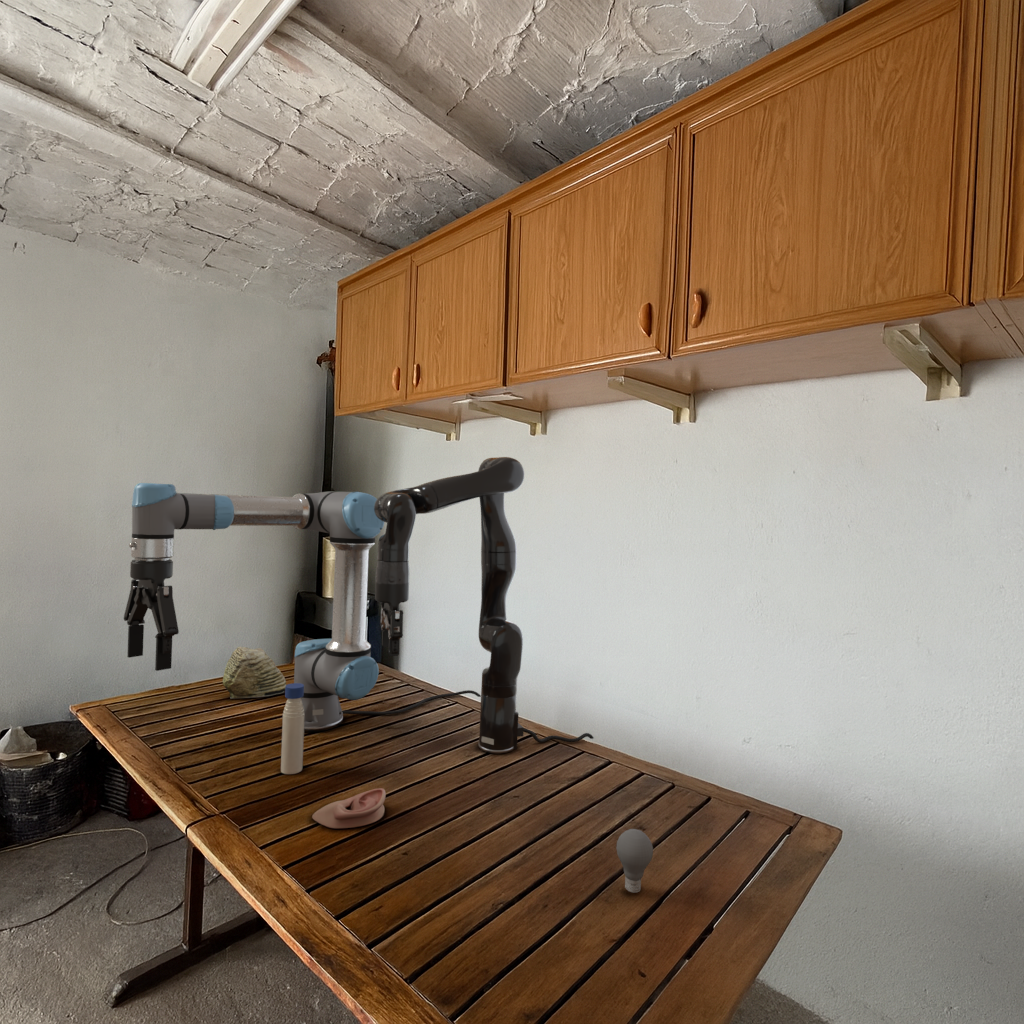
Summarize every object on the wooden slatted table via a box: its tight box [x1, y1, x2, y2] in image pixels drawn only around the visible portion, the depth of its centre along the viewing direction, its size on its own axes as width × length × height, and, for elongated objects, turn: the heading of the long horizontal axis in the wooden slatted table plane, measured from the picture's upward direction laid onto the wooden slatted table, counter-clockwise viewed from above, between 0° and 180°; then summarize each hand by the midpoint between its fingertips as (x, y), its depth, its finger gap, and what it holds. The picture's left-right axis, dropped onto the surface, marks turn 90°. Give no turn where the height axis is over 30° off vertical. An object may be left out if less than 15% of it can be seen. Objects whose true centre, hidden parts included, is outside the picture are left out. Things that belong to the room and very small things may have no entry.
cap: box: [284, 682, 304, 700], centre depth 146 cm, size 4×4×2 cm
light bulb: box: [615, 828, 654, 894], centre depth 106 cm, size 6×6×10 cm
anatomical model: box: [311, 787, 387, 829], centre depth 126 cm, size 13×4×12 cm
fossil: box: [222, 646, 287, 699], centre depth 198 cm, size 9×18×15 cm, turn 132°
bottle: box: [280, 698, 305, 775], centre depth 146 cm, size 5×5×19 cm
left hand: (148, 662), depth 129 cm, fingers open, 13 cm apart
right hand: (390, 651), depth 144 cm, fingers open, 8 cm apart
